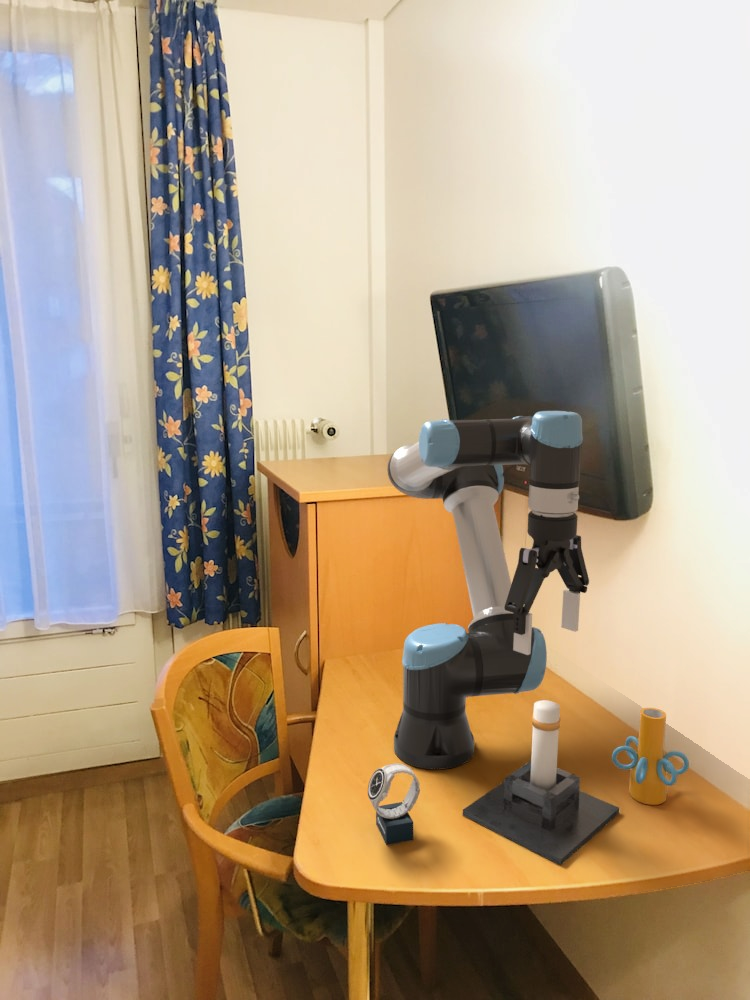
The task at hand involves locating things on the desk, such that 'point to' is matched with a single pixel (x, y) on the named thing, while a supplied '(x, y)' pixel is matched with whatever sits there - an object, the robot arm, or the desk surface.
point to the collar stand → (542, 814)
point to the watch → (393, 816)
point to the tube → (544, 745)
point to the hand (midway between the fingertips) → (546, 640)
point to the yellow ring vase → (650, 760)
